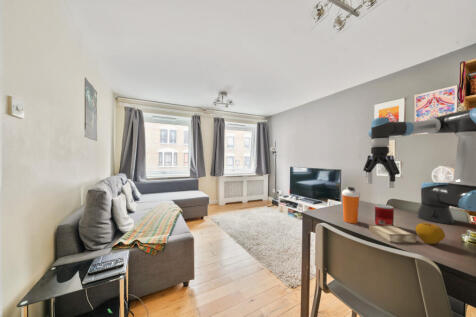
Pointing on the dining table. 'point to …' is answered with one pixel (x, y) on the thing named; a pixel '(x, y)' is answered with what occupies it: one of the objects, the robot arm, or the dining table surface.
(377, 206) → the canned food
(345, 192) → the shaker bottle
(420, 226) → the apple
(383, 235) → the dock
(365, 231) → the dining table surface
